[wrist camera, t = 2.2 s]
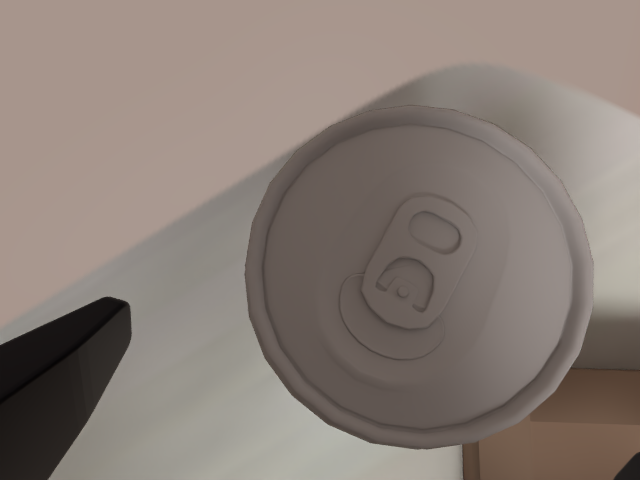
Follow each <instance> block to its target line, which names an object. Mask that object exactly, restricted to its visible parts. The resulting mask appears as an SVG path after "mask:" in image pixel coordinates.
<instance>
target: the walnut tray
mask: <svg viewBox="0 0 640 480" xmlns="http://www.w3.org/2000/svg"><path fill="white" fill-rule="evenodd" d="M638 452H640V370H614V369H582V368H570V369H569V371H568V372H567V374H566V375H565V377H564V378H563V380H562V381H561V383H560V385H559V386H558V388H557V389H556V391H555V392H554V393H553V394H552V395H551V396H549V397H548V398H547V399H546V400H545V401H544V402H542V403H541V404H540V405H539V406H538V407H537V408H536V409H534V410H533V411H532V412H531V413H530V414H529V415H528V416H526V417H525V418H524V419H523V420H522V421H521V422H519V423H518V424H515V425H513V426H511V427H509V428H506V429H504V430H502V431H500V432H497V433H495V434H493V435H491V436H489V437H486V438H484V439H482V440H480V441H477V442H475V443H468V444H463V473H464V480H613V479H614V477H615V476H616V474H617V473H618V472H619V471H620V470H621V469H622V468H623V467H624V466H625V465H626V463H627V462H628V461H629V460H630V459H631V458H632V457H633V456H634V455H635V454H636V453H638Z"/></svg>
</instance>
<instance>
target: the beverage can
mask: <svg viewBox="0 0 640 480" xmlns="http://www.w3.org/2000/svg"><path fill="white" fill-rule="evenodd" d="M593 266H594V262H593V259H592V255H591V251H590V247H589V243H588V240H587V236H586V232H585V228H584V224H583V220H582V218H581V216H580V214H579V213H578V211H577V209H576V207H575V205H574V203H573V202H572V200H571V198H570V196H569V194H568V193H567V191H566V189H565V187H564V185H563V184H562V182H561V180H560V179H559V178H558V177H557V176H556V175H555V174H554V173H553V172H552V170H551V169H550V168H549V167H548V166H547V165H546V164H545V163H544V162H543V161H542V160H541V159H540V158H539V157H538V156H537V155H536V153H535V152H534V151H533V150H532V149H531V148H530V147H528V146H527V145H525V144H524V143H522V142H521V141H519V140H518V139H516V138H514V137H513V136H511V135H510V134H508V133H507V132H505V131H504V130H502V129H501V128H499V127H498V126H496V125H495V124H493V123H490V122H487V121H484V120H481V119H478V118H476V117H473V116H470V115H467V114H464V113H461V112H459V111H456V110H453V109H444V108H434V107H425V106H416V105H407V106H400V107H393V108H385V109H378V110H371V111H367V112H365V113H362V114H359V115H357V116H354V117H352V118H349V119H347V120H344V121H342V122H339V123H337V124H334V125H332V126H330V127H328V128H327V129H326V130H324V131H323V132H321V133H320V134H319V135H317V136H316V137H315V138H313V139H312V140H310V141H309V142H308V143H306V144H305V145H304V146H302V147H301V148H300V149H298V150H297V151H296V152H295V153H294V154H293V156H292V157H291V158H290V159H289V160H288V162H287V163H286V164H285V165H284V167H283V168H282V169H281V170H280V171H279V173H278V174H277V175H276V176H275V178H274V179H273V180H272V181H271V182H270V184H269V186H268V188H267V191H266V193H265V195H264V197H263V200H262V202H261V204H260V206H259V208H258V211H257V213H256V215H255V217H254V220H253V222H252V227H251V233H250V239H249V245H248V251H247V258H246V264H245V282H246V291H247V301H248V311H249V318H250V320H251V323H252V326H253V328H254V331H255V334H256V336H257V339H258V342H259V344H260V347H261V350H262V352H263V355H264V357H265V359H266V361H267V362H268V363H269V365H270V366H271V368H272V369H273V370H274V372H275V373H276V374H277V376H278V377H279V379H280V380H281V381H282V383H283V384H284V385H285V387H286V388H287V389H288V391H289V392H290V394H291V395H292V396H293V397H294V398H296V399H297V400H298V401H299V402H301V403H302V404H303V405H304V406H306V407H307V408H308V409H309V410H311V411H312V412H313V413H314V414H315V415H317V416H318V417H319V418H320V419H322V420H323V421H324V422H325V423H327V424H328V425H330V426H332V427H335V428H337V429H339V430H342V431H344V432H346V433H349V434H351V435H353V436H356V437H358V438H360V439H363V440H365V441H367V442H369V443H374V444H381V445H388V446H395V447H402V448H410V449H417V450H418V449H433V448H440V447H447V446H454V445H461V444H468V443H475V442H477V441H480V440H482V439H484V438H486V437H489V436H491V435H493V434H495V433H497V432H500V431H502V430H504V429H506V428H509V427H511V426H513V425H515V424H518V423H519V422H521V421H522V420H523V419H524V418H525V417H526V416H528V415H529V414H530V413H531V412H532V411H533V410H534V409H536V408H537V407H538V406H539V405H540V404H541V403H542V402H544V401H545V400H546V399H547V398H548V397H549V396H551V395H552V394H553V393H554V392H555V391H556V389H557V388H558V386H559V385H560V383H561V381H562V380H563V378H564V377H565V375H566V374H567V372H568V371H569V369H570V367H571V366H572V364H573V363H574V361H575V360H576V358H577V357H578V355H579V353H580V351H581V348H582V344H583V341H584V337H585V334H586V330H587V327H588V324H589V320H590V317H591V313H592V310H593Z"/></svg>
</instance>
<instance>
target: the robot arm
mask: <svg viewBox="0 0 640 480" xmlns="http://www.w3.org/2000/svg"><path fill="white" fill-rule="evenodd" d="M131 334H132V332H131V312H130V305H129V304H128V302H126V301H123V300H120V299H116V298H113V297H103V298H101V299H99V300H97V301H94V302H92V303H90V304H88V305H86V306H84V307H81V308H79V309H77V310H75V311H73V312H71V313H69V314H66V315H64V316H62V317H60V318H58V319H56V320H53V321H51V322H49V323H47V324H45V325H43V326H40V327H38V328H36V329H34V330H32V331H30V332H28V333H25V334H23V335H21V336H19V337H17V338H15V339H12V340H10V341H8V342H6V343H4V344H2V345H0V480H48V478H49V477H50V476H51V474H52V473H53V471H54V470H55V468H56V467H57V465H58V464H59V462H60V461H61V460H62V458H63V457H64V455H65V454H66V452H67V451H68V449H69V448H70V446H71V445H72V444H73V442H74V441H75V439H76V438H77V436H78V435H79V433H80V432H81V430H82V429H83V427H84V426H85V424H86V423H87V421H88V419H89V418H90V416H91V414H92V412H93V411H94V409H95V407H96V405H97V403H98V402H99V400H100V398H101V396H102V394H103V392H104V391H105V389H106V387H107V385H108V383H109V381H110V379H111V378H112V376H113V374H114V372H115V370H116V368H117V367H118V365H119V363H120V361H121V359H122V357H123V355H124V354H125V352H126V350H127V348H128V346H129V343H130V340H131ZM613 480H640V452H638V453H636V454H635V455H634V456H633V457H632V458H631V459H630V460H629V461H628V462H627V463H626V465H625V466H624V467H623V468H622V469H621V470H620V471H619V472H618V473H617V474H616V476H615V477H614V479H613Z"/></svg>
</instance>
